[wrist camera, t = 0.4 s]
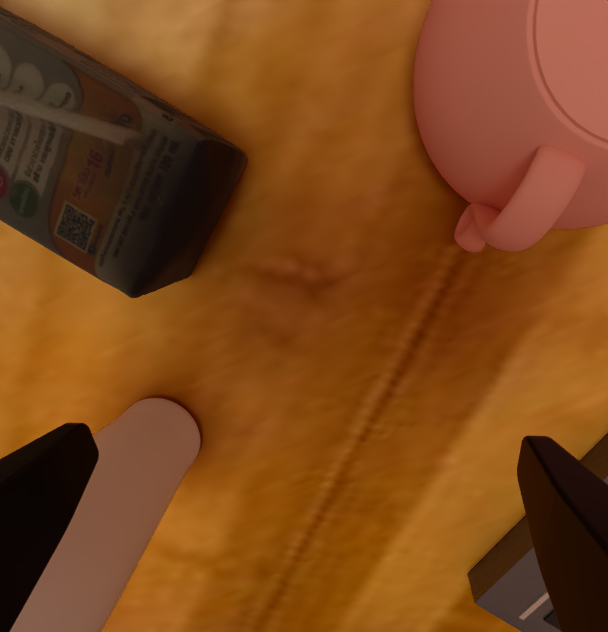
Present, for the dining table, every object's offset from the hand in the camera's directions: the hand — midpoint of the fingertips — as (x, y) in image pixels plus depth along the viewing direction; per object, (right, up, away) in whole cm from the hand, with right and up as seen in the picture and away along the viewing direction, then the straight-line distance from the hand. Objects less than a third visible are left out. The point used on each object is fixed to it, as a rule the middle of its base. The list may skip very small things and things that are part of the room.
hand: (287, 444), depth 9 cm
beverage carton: (-12, +13, +14) cm, 23 cm away
